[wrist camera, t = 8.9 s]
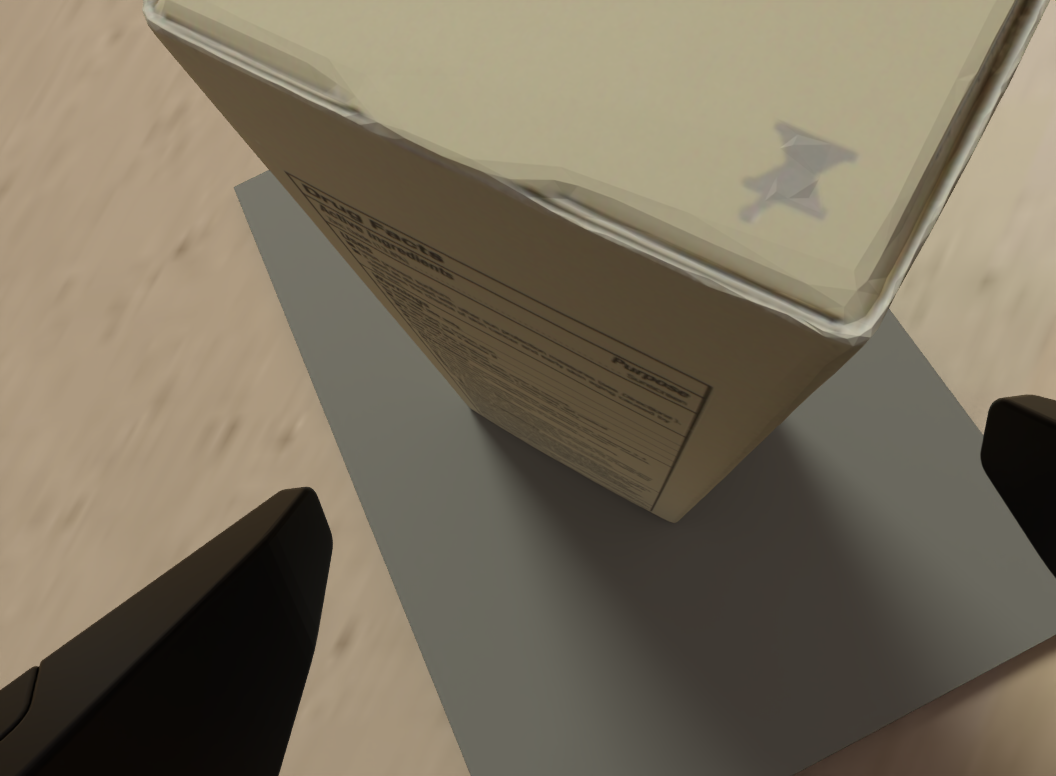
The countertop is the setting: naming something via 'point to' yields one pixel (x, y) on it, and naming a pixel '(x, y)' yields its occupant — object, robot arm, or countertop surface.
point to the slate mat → (667, 555)
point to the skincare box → (617, 192)
